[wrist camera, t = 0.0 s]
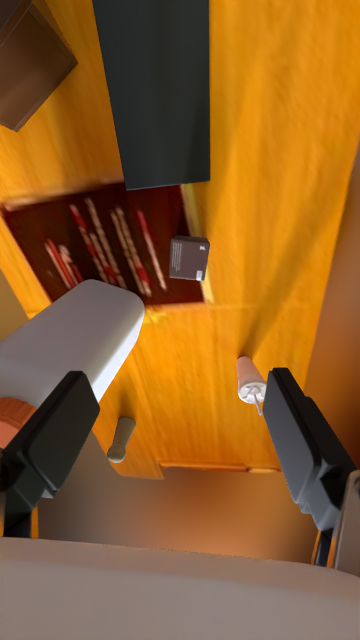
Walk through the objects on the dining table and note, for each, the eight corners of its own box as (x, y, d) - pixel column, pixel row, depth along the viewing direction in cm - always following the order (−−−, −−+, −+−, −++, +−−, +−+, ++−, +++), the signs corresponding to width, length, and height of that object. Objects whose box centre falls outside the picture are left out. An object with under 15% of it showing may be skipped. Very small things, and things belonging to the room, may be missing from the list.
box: (175, 234, 35) (170, 237, 29) (207, 237, 35) (210, 242, 28) (172, 267, 38) (168, 277, 31) (202, 271, 38) (204, 281, 31)
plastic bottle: (76, 329, 47) (-58, 453, 22) (80, 272, 40) (-107, 358, 15) (135, 348, 48) (72, 484, 23) (150, 295, 41) (82, 411, 16)
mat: (92, -7, 23) (89, -11, 23) (208, -34, 22) (208, -39, 21) (127, 190, 32) (126, 190, 32) (210, 180, 31) (210, 180, 30)
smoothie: (231, 372, 50) (242, 423, 37) (230, 352, 47) (243, 400, 34) (256, 371, 49) (277, 422, 36) (258, 350, 46) (280, 399, 33)
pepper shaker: (136, 419, 62) (125, 456, 52) (135, 430, 64) (124, 467, 55) (118, 415, 61) (103, 452, 52) (117, 426, 64) (103, 463, 55)
